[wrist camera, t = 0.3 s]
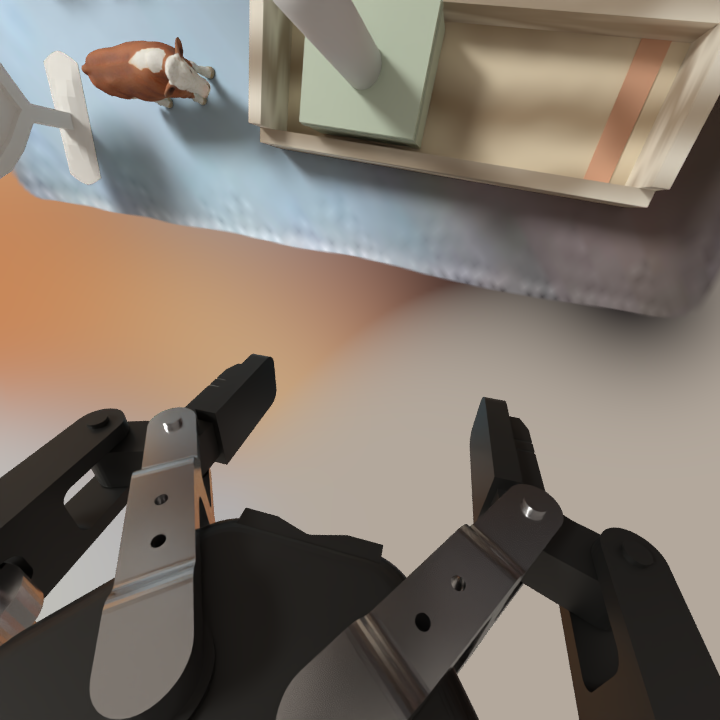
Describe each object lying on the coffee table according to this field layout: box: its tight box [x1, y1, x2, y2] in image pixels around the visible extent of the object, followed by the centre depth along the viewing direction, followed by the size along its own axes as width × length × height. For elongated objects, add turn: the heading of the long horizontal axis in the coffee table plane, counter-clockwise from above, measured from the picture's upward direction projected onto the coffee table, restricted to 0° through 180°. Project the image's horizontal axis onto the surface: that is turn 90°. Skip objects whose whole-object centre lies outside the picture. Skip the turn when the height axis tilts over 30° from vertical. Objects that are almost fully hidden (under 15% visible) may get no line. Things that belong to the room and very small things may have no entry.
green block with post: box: [273, 0, 445, 149], centre depth 23 cm, size 8×10×17 cm
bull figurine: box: [82, 37, 214, 109], centre depth 32 cm, size 4×13×8 cm, turn 83°
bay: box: [249, 0, 720, 208], centre depth 27 cm, size 12×34×6 cm, turn 80°
